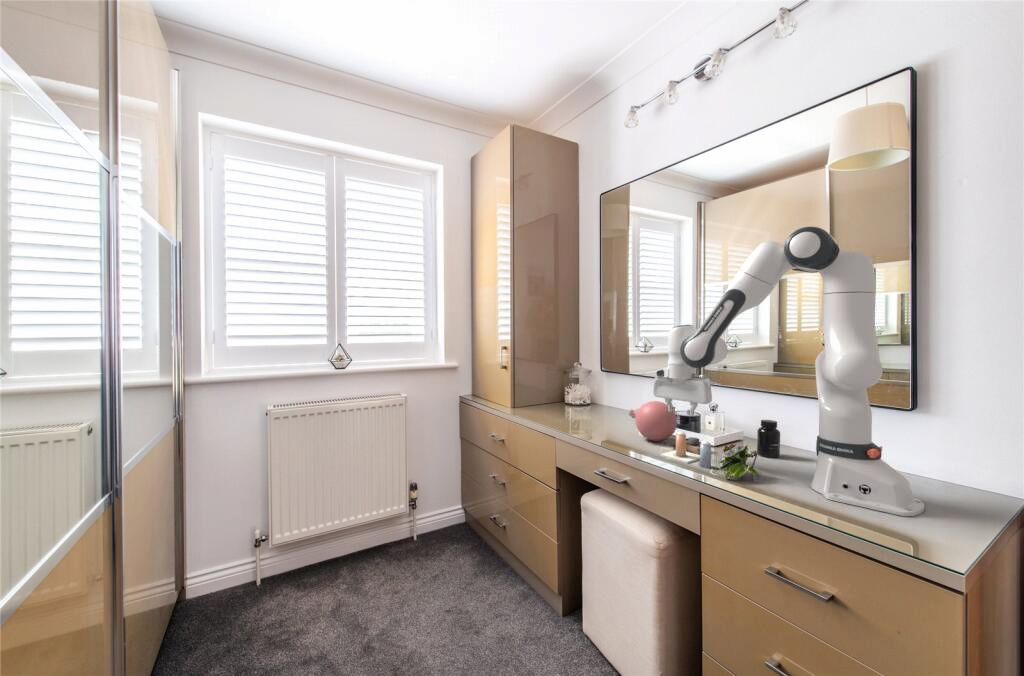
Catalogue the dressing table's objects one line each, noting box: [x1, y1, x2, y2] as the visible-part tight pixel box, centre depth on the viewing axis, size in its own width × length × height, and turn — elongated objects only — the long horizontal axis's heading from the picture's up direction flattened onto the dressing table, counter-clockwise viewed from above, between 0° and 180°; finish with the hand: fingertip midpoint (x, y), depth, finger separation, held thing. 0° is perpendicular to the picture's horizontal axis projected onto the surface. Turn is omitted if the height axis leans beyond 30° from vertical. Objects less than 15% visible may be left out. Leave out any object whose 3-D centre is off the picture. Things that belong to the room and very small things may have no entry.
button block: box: [686, 440, 701, 455], centre depth 151 cm, size 8×8×2 cm
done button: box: [687, 436, 700, 446], centre depth 151 cm, size 4×4×3 cm
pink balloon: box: [627, 400, 678, 442], centre depth 167 cm, size 15×20×15 cm
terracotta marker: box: [675, 431, 687, 457], centre depth 143 cm, size 3×3×8 cm
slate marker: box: [699, 440, 712, 469], centre depth 134 cm, size 3×3×8 cm
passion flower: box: [718, 443, 760, 481], centre depth 124 cm, size 11×11×12 cm
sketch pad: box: [660, 449, 700, 464], centre depth 144 cm, size 10×10×1 cm
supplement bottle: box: [756, 419, 781, 459], centre depth 145 cm, size 7×7×12 cm
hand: (681, 413), depth 143 cm, fingers open, 6 cm apart
